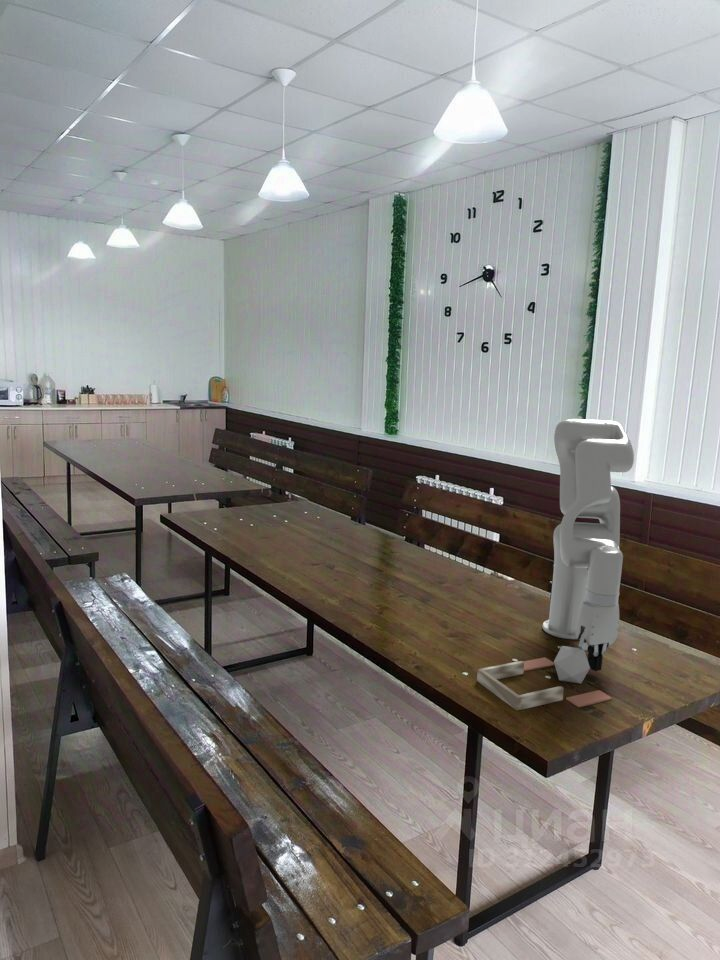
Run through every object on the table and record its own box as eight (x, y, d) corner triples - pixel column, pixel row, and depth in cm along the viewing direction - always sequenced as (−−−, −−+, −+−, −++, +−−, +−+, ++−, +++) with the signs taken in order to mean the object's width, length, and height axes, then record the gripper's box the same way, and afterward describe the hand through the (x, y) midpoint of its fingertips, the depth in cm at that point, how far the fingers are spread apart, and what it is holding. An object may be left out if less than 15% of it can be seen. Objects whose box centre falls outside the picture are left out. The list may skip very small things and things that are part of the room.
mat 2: (599, 691, 167) (599, 690, 167) (611, 699, 163) (611, 697, 163) (566, 699, 162) (566, 697, 162) (578, 707, 159) (578, 705, 159)
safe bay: (520, 672, 175) (521, 660, 174) (562, 700, 162) (563, 687, 161) (476, 681, 169) (477, 669, 169) (516, 710, 156) (517, 698, 156)
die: (589, 677, 175) (571, 640, 178) (602, 675, 167) (583, 637, 170) (560, 691, 174) (542, 653, 176) (572, 689, 166) (552, 650, 168)
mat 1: (544, 658, 183) (545, 657, 183) (555, 665, 180) (555, 663, 180) (513, 664, 179) (513, 663, 179) (523, 671, 175) (523, 669, 175)
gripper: (612, 589, 178) (604, 657, 182) (567, 596, 172) (560, 667, 175) (636, 599, 172) (627, 670, 175) (589, 606, 165) (582, 680, 169)
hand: (593, 668), depth 175 cm, fingers closed
